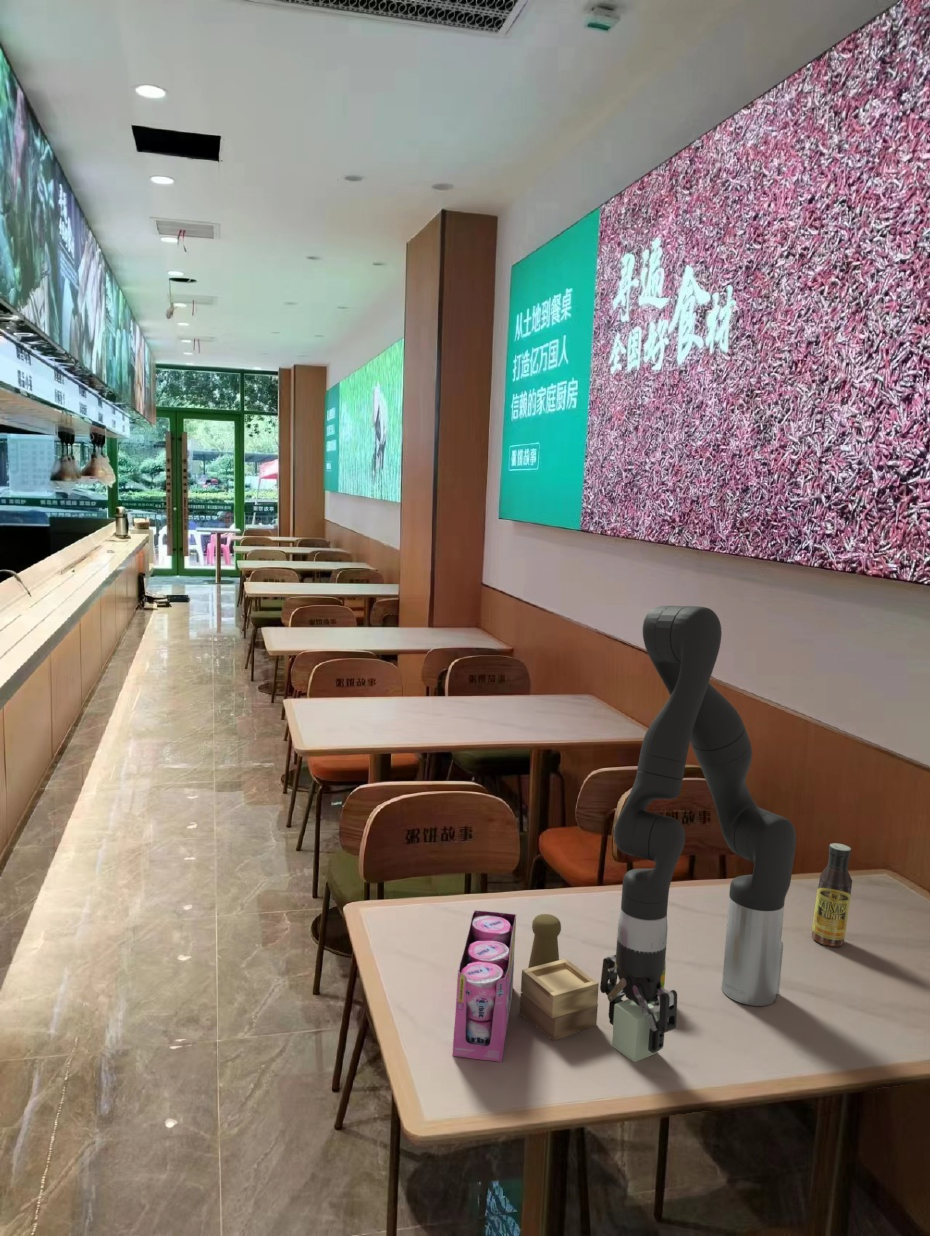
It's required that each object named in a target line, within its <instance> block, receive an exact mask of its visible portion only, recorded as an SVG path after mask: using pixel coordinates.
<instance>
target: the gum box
mask: <svg viewBox="0 0 930 1236" xmlns="http://www.w3.org/2000/svg"><path fill="white" fill-rule="evenodd" d="M471 915H472V916H471V920H470V924H469V929H468V933H467V936H466V940H465V945H464V948H463V952H462V955H461V959H460V962H459V966H458V969H457V978H456V999H455V1000H456V1001H455V1013H454V1015H455V1016H454V1027H453V1029H454V1030H453V1039H452V1040H453V1042H452V1043H453V1044H452V1057H459V1058H468V1059H475V1060H482V1061H492V1062H500V1063H502V1061H503V1055H504V1047H505V1043H506V1037H507V1032H508V1031H507V1030H508V1024H509V1016H510V1011H511V1004H512V997H513V990H514V970H515V969H514V967H515V947H516V925H517V923H516V921H517V914H515V913H514V914H513V913H506V912H505V913H504V912H497V911H486V910H476V909H475V910H473V912H472V914H471Z"/></svg>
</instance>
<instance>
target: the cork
mask: <svg viewBox="0 0 930 1236" xmlns="http://www.w3.org/2000/svg"><path fill="white" fill-rule="evenodd" d="M531 926H532V927H531V930H532V933H533V940H532V946H531V951H530V956H529V957H530V958H529V962H528V966H527V968H531V967H535V966H539V965H543V964H547V963H551V962H555V961H559V960H560V956H559V953H560V952H559V951H560V950H559V942H558V941H559V940H558V936H559V935H560V933H561V931H562V923H561V921H560V919H559V918H558V917H557V916H555V915H553V914H549V913H541V914H538V915H537V916H535V917H534V919H533V920H532V924H531Z"/></svg>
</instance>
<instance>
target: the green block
mask: <svg viewBox="0 0 930 1236" xmlns="http://www.w3.org/2000/svg"><path fill="white" fill-rule="evenodd" d="M654 1006H655V1005H651V1004H648V1007H649V1008H653V1007H654ZM654 1017H655V1019H656V1021H658V1018H657V1015H656V1013H654ZM650 1028H651V1027H650V1025H649V1022H648V1019H647V1017H646V1016H644V1015H643V1013H642V1010H641V1007H640V1006H639V1005H637V1004H636V1003H635V1002H634V1001H633V1000H630V999H628V998H626V999H625V1000H623V1001H622V1002H619V1003H616V1004H615V1006H614V1021H613V1025H612V1037H611V1038H612V1040H611V1041H612V1042H611V1046H612V1047H613V1048H614V1049H615V1050H617V1051H618V1052H619V1053H621V1054H622V1055H624V1056H625V1057H626V1058H628V1059H629V1060H630V1061H632V1062H634V1063H637V1062H638V1061H640V1060H643V1059H645V1058H649V1057H650V1056H652V1055H656V1054H657V1053H658V1052H659V1051H657V1052H654V1053H652V1052H650V1051H649V1050H648V1043H649V1030H650Z"/></svg>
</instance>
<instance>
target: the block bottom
mask: <svg viewBox="0 0 930 1236" xmlns="http://www.w3.org/2000/svg"><path fill="white" fill-rule="evenodd" d="M598 1007H599V1006H598V1003H597V1006H593V1007H590V1008H586V1009H583V1010H579V1011H576V1012H573V1013H569V1014H566V1015H562V1016H559V1017H556V1018H551V1017H550V1016H549V1015H547V1014H546V1013H545V1012H544V1011H543V1010H542V1009H541V1008H539V1007H538V1006H537V1005H536V1004H535V1003H534V1002H532V1001H531V1000H530V999H529V998H528V997H527V996H525V995H524V994H523V993H522V992H521V993H520V998H519V1015H520V1016H522V1017H523V1018H524V1019H526V1021H528V1022H529V1023H530V1024H532V1025H533V1026H534V1027H536V1029H538V1030H539V1031H540V1032H542V1033H543V1034H544V1035H545V1036H546V1037H548V1038H549V1039H550V1040H552V1041H553V1042H556V1041H558V1040H560V1039H564V1038H566V1037H568V1036H572V1035H573V1034H576V1033H579V1032H582V1031H585V1030H587V1029H590V1028H592V1027H595V1026H597V1022H598V1021H597V1020H598Z"/></svg>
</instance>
